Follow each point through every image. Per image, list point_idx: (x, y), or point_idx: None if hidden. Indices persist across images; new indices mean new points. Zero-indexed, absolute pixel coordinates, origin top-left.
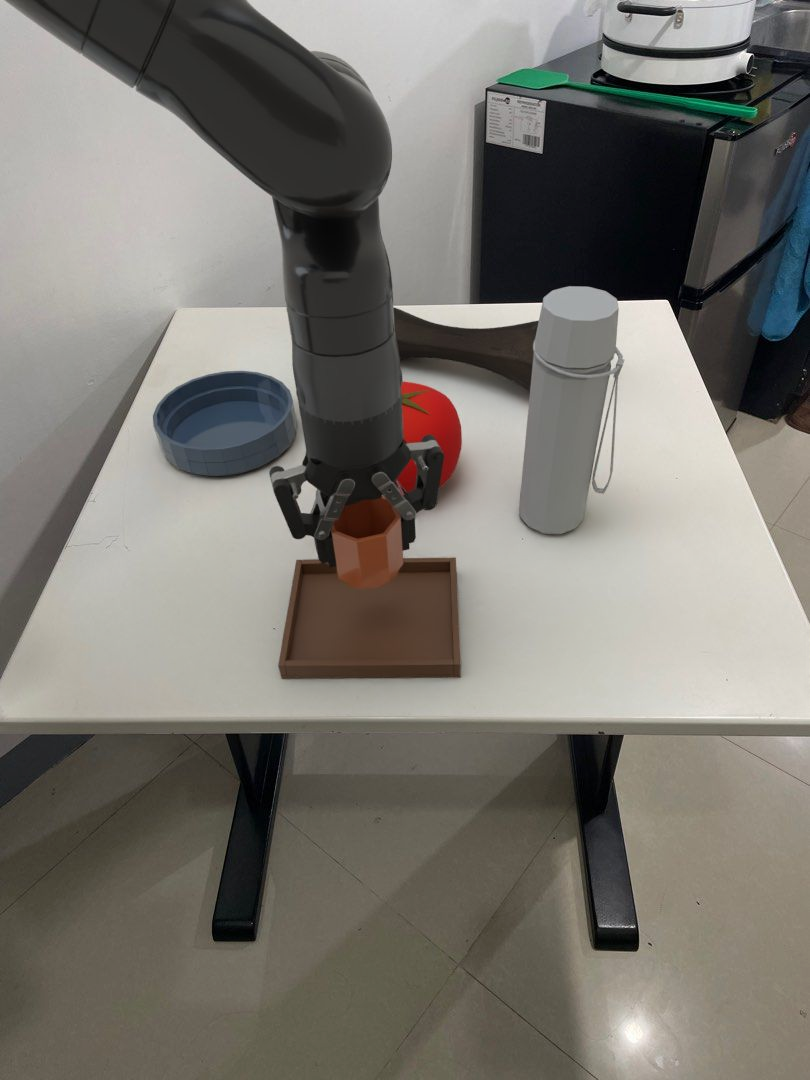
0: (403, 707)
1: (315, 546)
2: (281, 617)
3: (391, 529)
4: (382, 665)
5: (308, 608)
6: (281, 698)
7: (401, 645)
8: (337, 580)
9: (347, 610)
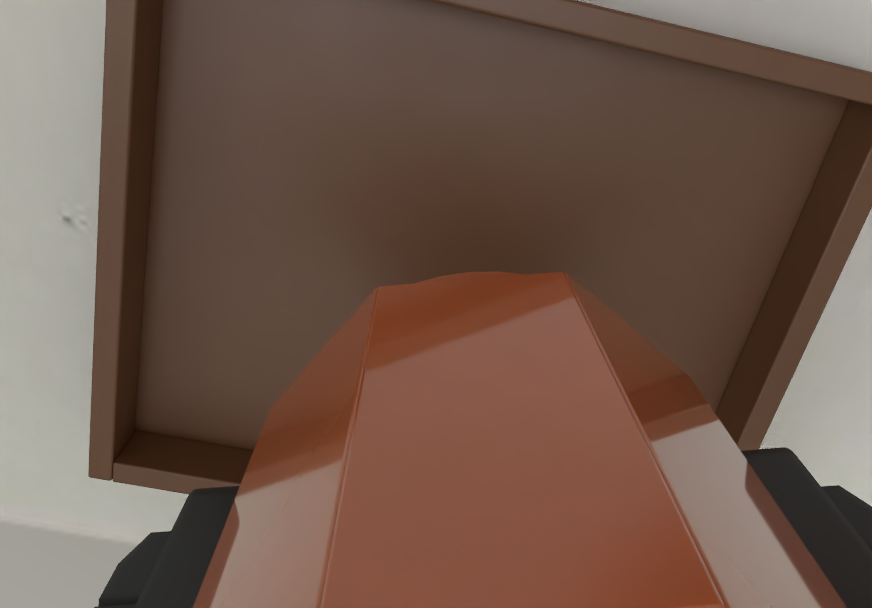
0: None
1: (106, 592)
2: (90, 169)
3: None
4: None
5: (199, 171)
6: (126, 493)
7: None
8: (334, 30)
9: (362, 219)
